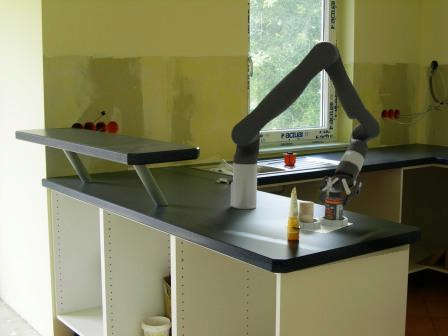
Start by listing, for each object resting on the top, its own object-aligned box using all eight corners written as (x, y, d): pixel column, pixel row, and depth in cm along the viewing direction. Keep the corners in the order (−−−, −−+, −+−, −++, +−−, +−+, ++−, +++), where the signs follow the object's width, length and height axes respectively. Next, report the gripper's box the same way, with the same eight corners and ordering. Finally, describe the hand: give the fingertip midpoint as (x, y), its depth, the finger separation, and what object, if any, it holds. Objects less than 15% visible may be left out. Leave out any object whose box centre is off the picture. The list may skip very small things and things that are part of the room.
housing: (285, 229, 218) (285, 220, 218) (314, 220, 233) (315, 211, 233) (324, 237, 209) (325, 227, 209) (353, 227, 224) (353, 217, 224)
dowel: (295, 226, 219) (296, 202, 217) (303, 223, 222) (304, 200, 221) (308, 228, 216) (309, 204, 214) (315, 226, 219) (316, 202, 218)
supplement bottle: (320, 223, 223) (322, 190, 222) (331, 220, 228) (332, 188, 226) (335, 226, 219) (336, 192, 218) (345, 223, 223) (347, 190, 222)
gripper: (328, 158, 230) (309, 194, 223) (365, 161, 222) (347, 200, 214) (335, 171, 235) (317, 207, 228) (371, 175, 227) (354, 213, 219)
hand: (332, 203), depth 221 cm, fingers open, 8 cm apart
